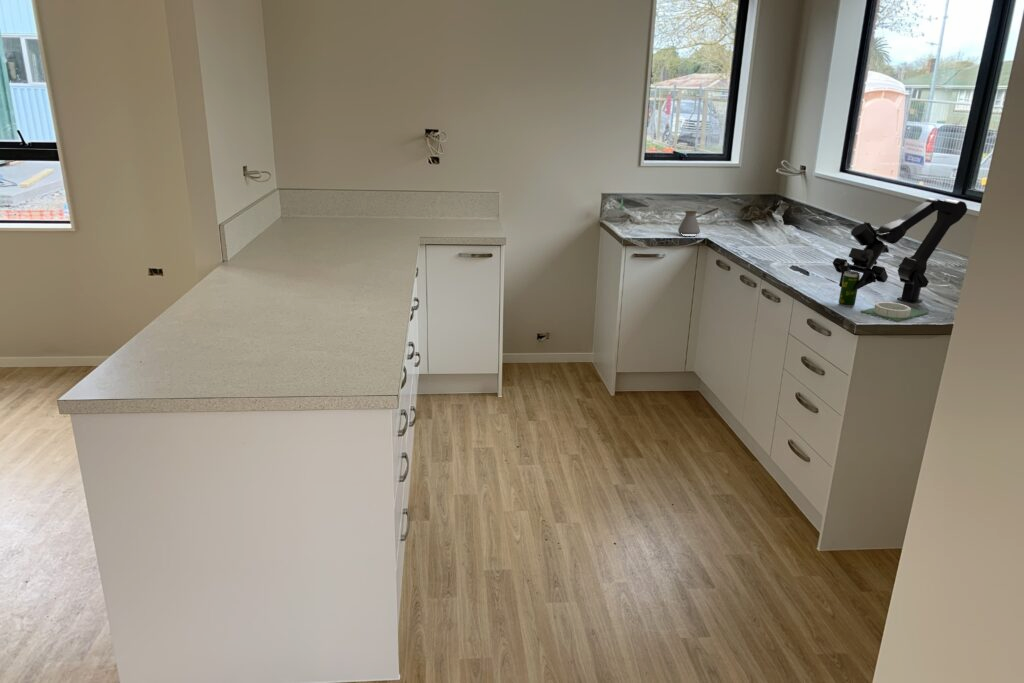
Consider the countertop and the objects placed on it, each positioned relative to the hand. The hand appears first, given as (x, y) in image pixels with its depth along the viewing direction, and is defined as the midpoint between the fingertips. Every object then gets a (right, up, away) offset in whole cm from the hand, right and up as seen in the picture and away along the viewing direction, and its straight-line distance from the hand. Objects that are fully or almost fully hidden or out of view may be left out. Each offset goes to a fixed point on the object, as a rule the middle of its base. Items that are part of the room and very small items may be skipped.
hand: (847, 287), depth 258 cm
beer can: (+1, -6, +3) cm, 7 cm away
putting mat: (+14, -9, -5) cm, 18 cm away
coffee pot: (-20, +37, +130) cm, 137 cm away
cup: (+12, -10, -7) cm, 17 cm away
